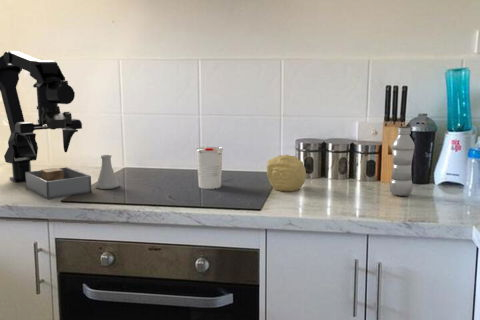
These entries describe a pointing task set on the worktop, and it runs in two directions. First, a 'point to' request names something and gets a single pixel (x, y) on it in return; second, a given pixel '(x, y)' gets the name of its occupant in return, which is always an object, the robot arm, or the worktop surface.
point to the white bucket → (209, 167)
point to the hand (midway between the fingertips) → (51, 153)
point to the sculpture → (286, 173)
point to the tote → (59, 184)
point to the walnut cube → (52, 174)
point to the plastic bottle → (402, 162)
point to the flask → (107, 174)
